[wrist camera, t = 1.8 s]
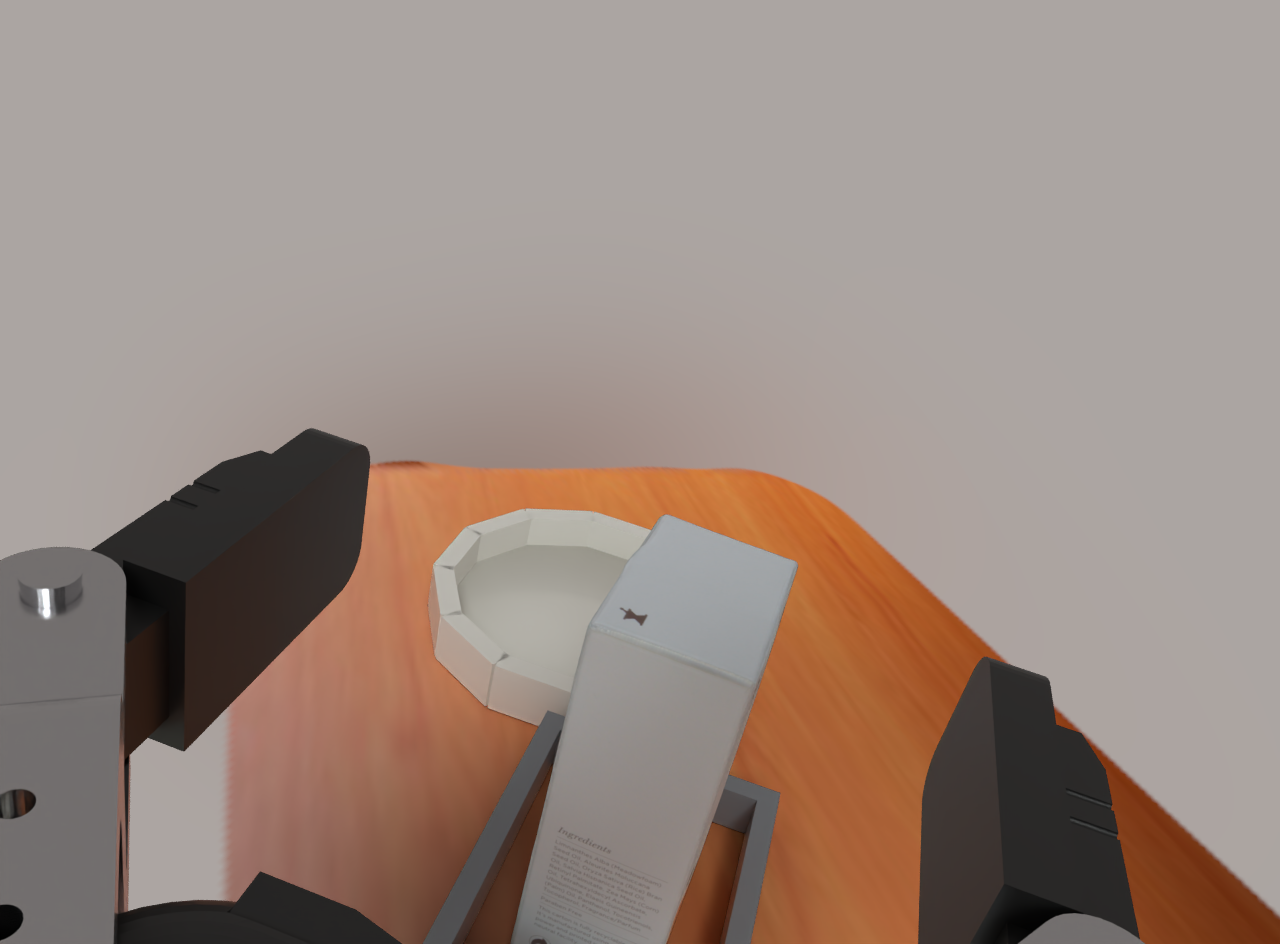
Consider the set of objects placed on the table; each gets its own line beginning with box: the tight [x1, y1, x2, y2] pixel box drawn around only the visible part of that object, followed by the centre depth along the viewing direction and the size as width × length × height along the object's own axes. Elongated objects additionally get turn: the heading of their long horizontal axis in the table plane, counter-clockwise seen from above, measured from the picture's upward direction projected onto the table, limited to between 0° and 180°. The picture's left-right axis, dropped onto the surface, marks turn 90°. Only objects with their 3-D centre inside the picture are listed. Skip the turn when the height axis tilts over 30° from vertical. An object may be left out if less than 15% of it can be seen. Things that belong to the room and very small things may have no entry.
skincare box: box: [510, 515, 798, 944], centre depth 29 cm, size 6×4×12 cm
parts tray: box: [423, 710, 780, 944], centre depth 31 cm, size 8×10×2 cm
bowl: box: [428, 509, 651, 726], centre depth 42 cm, size 12×12×2 cm
